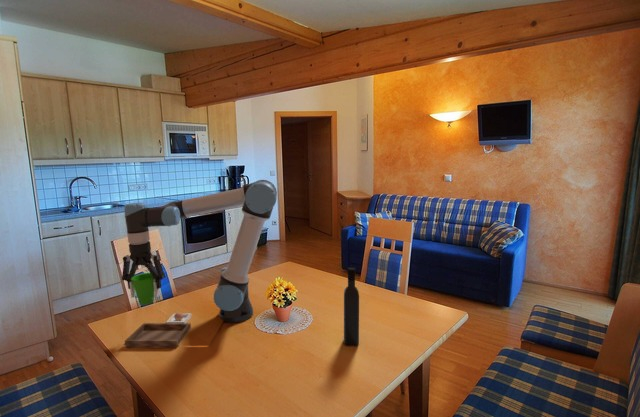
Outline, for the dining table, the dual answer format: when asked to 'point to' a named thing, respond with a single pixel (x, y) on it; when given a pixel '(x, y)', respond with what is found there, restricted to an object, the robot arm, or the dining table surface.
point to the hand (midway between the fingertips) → (145, 296)
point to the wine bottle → (351, 310)
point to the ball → (178, 316)
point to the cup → (144, 287)
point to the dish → (183, 320)
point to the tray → (158, 335)
